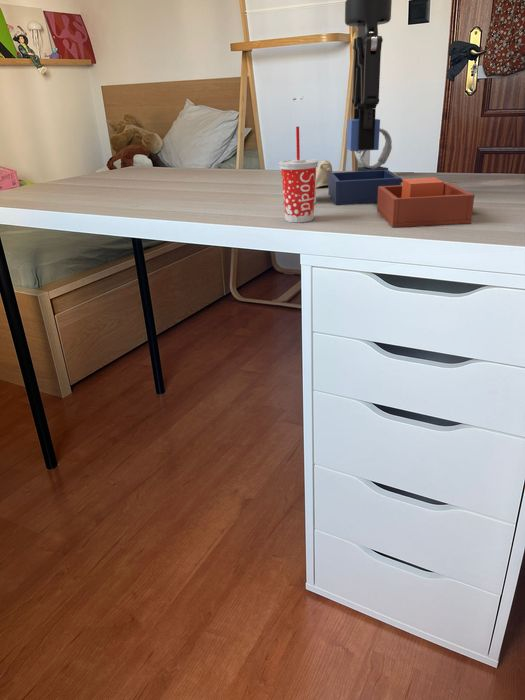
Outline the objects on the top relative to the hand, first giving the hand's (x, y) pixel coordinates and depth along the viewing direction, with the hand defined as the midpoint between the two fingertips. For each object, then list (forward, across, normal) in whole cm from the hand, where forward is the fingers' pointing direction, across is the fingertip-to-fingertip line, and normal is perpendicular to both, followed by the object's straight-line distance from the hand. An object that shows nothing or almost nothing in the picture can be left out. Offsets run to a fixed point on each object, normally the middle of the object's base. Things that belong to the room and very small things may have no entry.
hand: (363, 147), depth 96 cm
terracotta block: (+8, +19, +6) cm, 22 cm away
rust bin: (+9, +19, +6) cm, 22 cm away
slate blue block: (0, 0, 0) cm, 0 cm away
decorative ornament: (+9, -16, -6) cm, 19 cm away
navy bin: (+9, 0, 0) cm, 9 cm away
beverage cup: (+9, +16, -13) cm, 22 cm away
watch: (+9, -17, +5) cm, 20 cm away
